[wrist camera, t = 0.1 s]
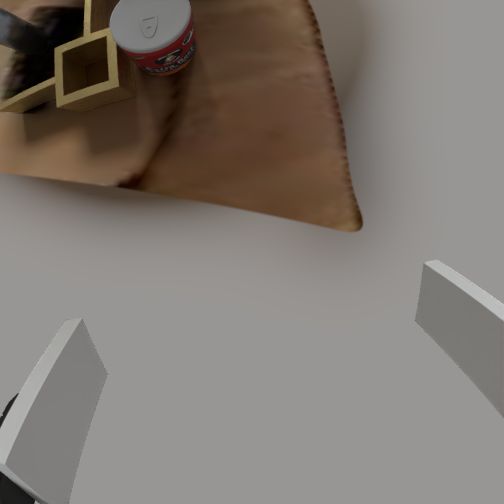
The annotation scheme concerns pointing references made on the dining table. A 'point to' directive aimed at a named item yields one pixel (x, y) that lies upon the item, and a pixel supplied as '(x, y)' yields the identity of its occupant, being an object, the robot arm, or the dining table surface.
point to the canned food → (155, 33)
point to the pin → (20, 34)
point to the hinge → (82, 70)
